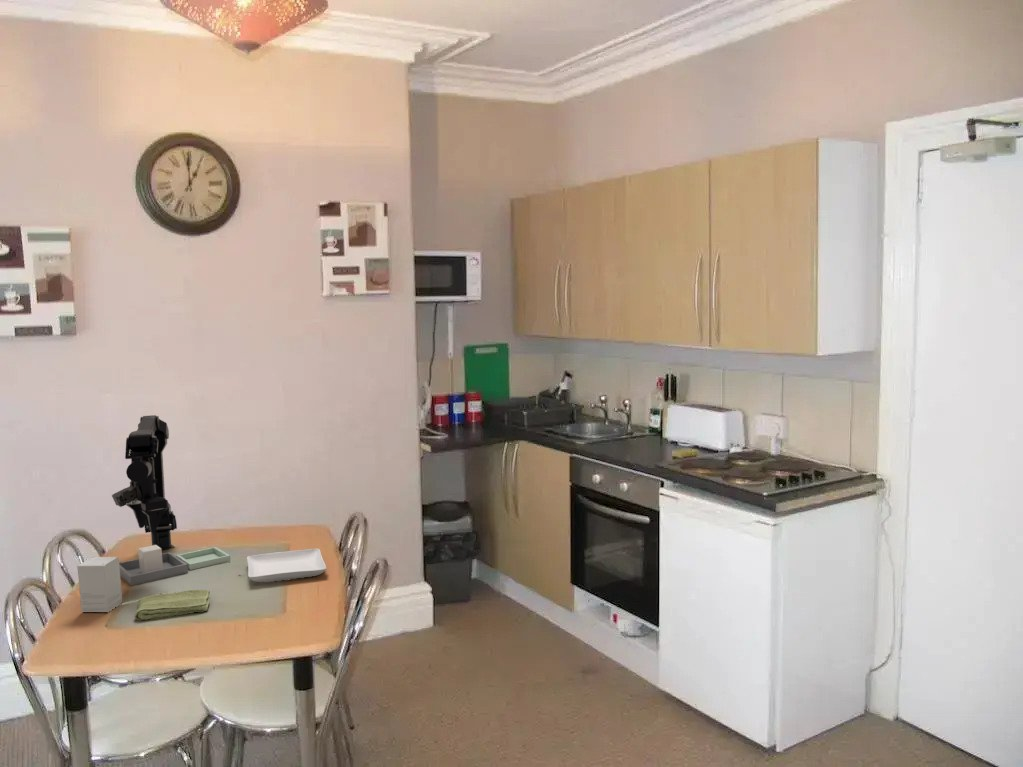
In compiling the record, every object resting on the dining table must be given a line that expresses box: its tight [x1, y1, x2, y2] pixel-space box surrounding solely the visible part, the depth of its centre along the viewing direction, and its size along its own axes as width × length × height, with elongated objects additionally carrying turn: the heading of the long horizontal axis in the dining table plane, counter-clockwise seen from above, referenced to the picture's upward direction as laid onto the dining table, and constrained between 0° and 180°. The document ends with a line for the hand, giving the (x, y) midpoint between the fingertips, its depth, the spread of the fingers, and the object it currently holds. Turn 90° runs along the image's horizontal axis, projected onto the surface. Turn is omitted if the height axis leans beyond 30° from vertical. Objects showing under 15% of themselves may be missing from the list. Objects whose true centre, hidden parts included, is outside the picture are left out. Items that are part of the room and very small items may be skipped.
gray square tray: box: [119, 551, 189, 586], centre depth 247 cm, size 16×16×3 cm
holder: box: [175, 546, 232, 571], centre depth 257 cm, size 12×12×2 cm
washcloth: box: [134, 589, 211, 622], centre depth 220 cm, size 13×18×3 cm
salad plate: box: [246, 548, 327, 583], centre depth 247 cm, size 21×21×3 cm
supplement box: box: [76, 556, 123, 613], centre depth 221 cm, size 7×7×13 cm
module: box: [137, 544, 163, 573], centre depth 247 cm, size 5×5×7 cm
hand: (147, 530), depth 246 cm, fingers open, 9 cm apart
